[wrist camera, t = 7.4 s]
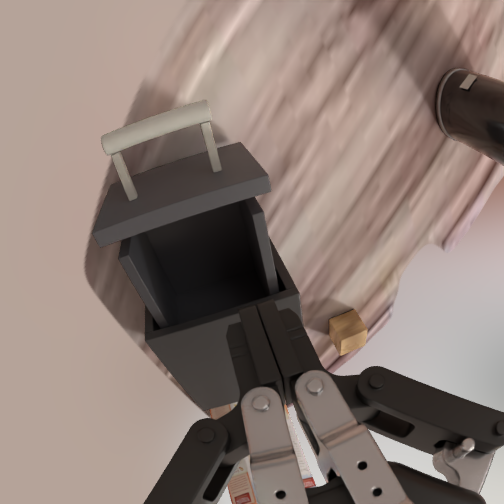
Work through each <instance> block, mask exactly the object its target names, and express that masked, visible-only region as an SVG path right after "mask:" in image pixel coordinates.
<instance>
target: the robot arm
mask: <svg viewBox="0 0 504 504" xmlns="http://www.w3.org/2000/svg"><path fill="white" fill-rule="evenodd" d="M436 114H437V119H438V123H439V125H440V128H441V129H442V131H443V132H444V134H445V135H446V136H448V137H449V138H451V139H453V140H456V141H459V142H461V143H463V144H465V145H467V146H469V147H471V148H473V149H474V150H476V151H478V152H480V153H482V154H484V155H486V156H487V157H489V158H491V159H493V160H494V161H496V162H498V163H500V164H501V165H503V166H504V81H501V80H498V79H495V78H492V77H489V76H486V75H482V74H479V73H475V72H471V71H469V70H466V69H463V68H454V69H452V70H450V71H448V72H447V73H446V74H445V75H444V77H443V78H442V80H441V82H440V85H439V87H438V91H437V96H436ZM256 308H257V309H256ZM238 313H239V316H240V320H241V322H238V323H234V324H231V325H228V330H227V334H226V339H227V343H228V347H229V351H230V355H231V359H232V363H233V367H234V371H235V375H236V378H237V382H238V386H239V390H240V397H239V401H238V403H237V405H236V406H235V407H234V408H233V409H232V410H231V411H230V412H228V413H227V414H225V415H223V416H222V417H220V418H218V419H212V418H205V419H201V420H199V421H197V422H196V423H194V424H193V425H192V426H191V428H190V429H189V431H188V433H187V434H186V436H185V438H184V439H183V441H182V443H181V444H180V446H179V448H178V449H177V451H176V452H175V454H174V456H173V457H172V459H171V461H170V462H169V464H168V466H167V467H166V469H165V470H164V472H163V474H162V475H161V477H160V479H159V480H158V482H157V483H156V485H155V486H154V488H153V490H152V491H151V493H150V494H149V496H148V498H147V499H146V500H145V502H144V504H217V503H218V501H219V499H220V497H221V496H222V494H223V492H224V490H225V489H226V487H227V485H228V483H229V481H230V480H231V478H232V476H233V474H234V472H235V470H236V468H237V466H238V465H239V463H240V461H241V460H242V459H243V458H245V457H247V456H248V455H250V469H251V474H252V479H253V484H254V489H255V494H256V499H257V504H486V502H485V500H484V499H483V497H482V496H481V495H480V492H481V489H482V487H483V484H484V482H485V479H486V476H487V474H488V471H489V468H490V465H491V462H492V460H493V457H494V454H495V451H496V450H497V449H498V448H500V447H502V446H503V445H504V412H501V411H498V410H495V409H492V408H489V407H486V406H483V405H480V404H477V403H475V402H471V401H469V400H466V399H463V398H460V397H458V396H455V395H452V394H449V393H447V392H444V391H442V390H439V389H436V388H434V387H431V386H429V385H426V384H423V383H421V382H418V381H416V380H413V379H411V378H408V377H406V376H403V375H401V374H398V373H396V372H393V371H391V370H388V369H386V368H383V367H380V366H373V367H369V368H367V369H365V370H364V371H362V372H361V374H360V375H350V376H338V375H334V374H331V373H330V372H328V371H327V370H325V369H324V367H323V366H322V364H321V362H320V360H319V358H318V356H317V354H316V352H315V350H314V348H313V345H312V343H311V341H310V339H309V337H308V336H307V333H306V331H305V329H304V327H303V324H302V322H301V320H300V318H299V316H298V315H297V314H296V313H295V312H294V311H292V310H291V309H290V308H286V309H283V310H280V311H278V309H277V306H276V304H275V302H274V300H273V299H271V300H268V301H264V302H261V303H257V304H256V306H255V304H254V305H250V306H247V307H243V308H240V309H238ZM284 397H285V398H284ZM285 400H286V403H287V404H290V403H293V405H294V407H295V410H296V412H297V419H298V421H299V423H300V425H301V428H302V430H303V432H304V434H305V436H306V438H307V440H308V442H309V444H310V446H311V448H312V450H313V452H314V454H315V457H316V459H317V463H318V466H319V468H320V470H321V472H322V474H323V476H324V478H325V480H326V484H325V485H323V486H320V487H312V488H305V487H304V483H303V479H302V476H301V472H300V468H299V464H298V461H297V457H296V454H295V451H294V448H293V444H292V440H291V436H290V432H289V429H288V425H287V421H286V415H285V409H284V405H285ZM368 429H369V430H372V431H374V432H376V433H379V434H381V435H383V436H386V437H388V438H390V439H393V440H395V441H398V442H400V443H403V444H405V445H408V446H410V447H413V448H416V449H418V450H421V451H423V452H426V453H429V454H432V455H433V465H434V468H435V469H436V470H437V471H438V472H440V473H442V474H443V475H444V476H445V477H446V479H447V481H448V482H446V481H443V480H440V479H438V478H435V477H432V476H430V475H427V474H425V473H422V472H420V471H417V470H415V469H413V468H410V467H408V466H405V465H403V464H400V463H397V462H390V461H386V459H385V457H384V456H383V454H382V452H381V450H380V449H379V447H378V445H377V443H376V442H375V440H374V438H373V437H372V435H371V433H370V432H369V430H368Z"/></svg>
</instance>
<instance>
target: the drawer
mask: <svg viewBox="0 0 504 504" xmlns="http://www.w3.org/2000/svg"><path fill="white" fill-rule="evenodd" d="M210 120H212V115H211V111H210V107H209V104H208V102H207V100H203V101H199V102H196V103H192V104H189V105H185V106H182V107H179V108H176V109H173V110H169V111H166V112H163V113H160V114H157V115H155V116H152V117H149V118H146V119H143V120H141V121H138V122H135V123H133V124H130V125H127V126H125V127H122V128H120V129H117V130H115V131H112V132H110V133H107V134H105V135H103V136H102V137H101V142H102V147H103V150H104V151H105V153H106V154H107V155H111V154H112V155H111V157H112V160H113V163H114V165H115V168H116V170H117V173H118V175H119V177H120V180H121V181H120V182H117V183H114V184H112V185H111V186H110V188H109V190H108V193H107V195H106V198H105V200H104V203H103V205H102V208H101V210H100V213H99V216H98V218H97V221H96V224H95V226H94V229H93V232H92V234H93V236H94V238H95V240H96V241H97V243H98V245H99V247H100V248H101V247H103V246H106V245H109V244H112V243H114V242H117V241H120V240H122V241H121V246H120V252H119V257H118V259H119V261H120V263H121V264H122V266H123V268H124V270H125V271H126V273H127V275H128V277H129V278H130V280H131V282H132V283H133V285H134V287H135V288H136V290H137V292H138V293H139V295H140V297H141V298H142V300H143V302H144V303H145V305H146V306H147V308H148V310H149V311H150V313H151V314H152V316H153V318H154V319H155V321H156V322H157V324H158V325H159V327H160V328H161V329H163V328H167V327H170V326H173V325H177V324H180V323H184V322H187V321H191V320H194V319H197V318H201V317H204V316H207V315H210V314H214V313H217V312H220V311H223V310H227V309H230V308H233V307H236V306H239V305H242V304H245V303H249V302H252V301H255V300H258V299H261V298H264V297H267V296H270V295H273V294H276V293H279V292H280V291H279V286H278V281H277V276H276V271H275V266H274V261H273V256H272V251H271V246H270V241H269V236H268V231H267V226H266V221H265V216H264V212H263V210H262V208H261V207H260V205H259V203H258V202H257V200H256V198H255V196H258V195H262V194H265V193H268V192H271V186H270V181H269V176H268V174H267V173H266V172H265V170H264V169H263V168H262V167H261V166H260V164H259V163H258V162H257V161H256V160H255V158H254V157H253V156H252V155H251V154H250V152H249V151H248V150H247V149H246V148H245V147H244V145H243V144H242V143H241V142H238V143H235V144H231V145H228V146H224V147H220V148H216V145H215V141H214V137H213V133H212V129H211V126H210V122H209V121H210ZM196 124H200V127H201V130H202V134H203V137H204V141H205V145H206V148H207V152H204V153H200V154H197V155H194V156H191V157H187V158H184V159H181V160H178V161H175V162H172V163H169V164H166V165H163V166H160V167H157V168H155V169H152V170H149V171H146V172H143V173H141V174H138V175H135V176H133V177H130V175H129V172H128V169H127V167H126V164H125V162H124V159H123V156H122V154H121V150H124V149H126V148H129V147H131V146H134V145H137V144H139V143H142V142H145V141H148V140H150V139H153V138H156V137H159V136H162V135H165V134H168V133H171V132H174V131H177V130H180V129H183V128H187V127H190V126H193V125H196Z"/></svg>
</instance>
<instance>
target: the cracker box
mask: <svg viewBox="0 0 504 504" xmlns="http://www.w3.org/2000/svg"><path fill="white" fill-rule="evenodd" d="M237 403H238V402H235V403H232V404H228V405H224V406H221V407H217V408H213V409H210V414H211V418H212V419H218V418H220V417H222V416H223V415H225V414H227V413H228V412H230V411H231V410H232V409H233V408H234V407H235V406H236V405H237ZM284 409H285V415H286V421H287V425H288V429H289V432H290V436H291V440H292V444H293V448H294V451H295V454H296V457H297V461H298V464H299V468H300V472H301V476H302V479H303V483H304V487H305V488H312V487H316V485H315V482H314V480H313V477H312V474H311V472H310V469H309V466H308V464H307V461H306V458H305V456H304V453H303V450H302V448H301V445H300V442H299V440H298V437H297V434H296V431H295V429H294V426H293V423H292V421H291V418H290V415H289V412H288V410H287V407H286V404H285V405H284ZM227 486H228V490H229V494H230V497H231V501H232V504H257V499H256V494H255V489H254V484H253V479H252V474H251V469H250V455H248V456H247V457H245V458H243V459H242V460H241V461H240V463H239V465H238V466H237V468H236V470H235V472H234V474H233V476H232V478H231V480H230V481H229V483H228V485H227Z"/></svg>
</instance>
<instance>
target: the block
mask: <svg viewBox="0 0 504 504" xmlns="http://www.w3.org/2000/svg"><path fill="white" fill-rule="evenodd" d="M367 330H368V329H367V328H366V326H365V325H364V323H363V321H362V320H361V318H360V317H359V315H358V314H357V312H356V311H355V309H354V310H351V311H349V312H346V313H344V314H341V315H339V316H336V317H334V318H331V319H329V336H330V338H331V339H332V341H333V343H334V345H335V347H336V349H337V351H338V353H339V354H340V356H341V355H344V354H346V353H348V352H351V351H353V350H355V349H358V348H360V347H362V346H365V342H366V336H367Z"/></svg>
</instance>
